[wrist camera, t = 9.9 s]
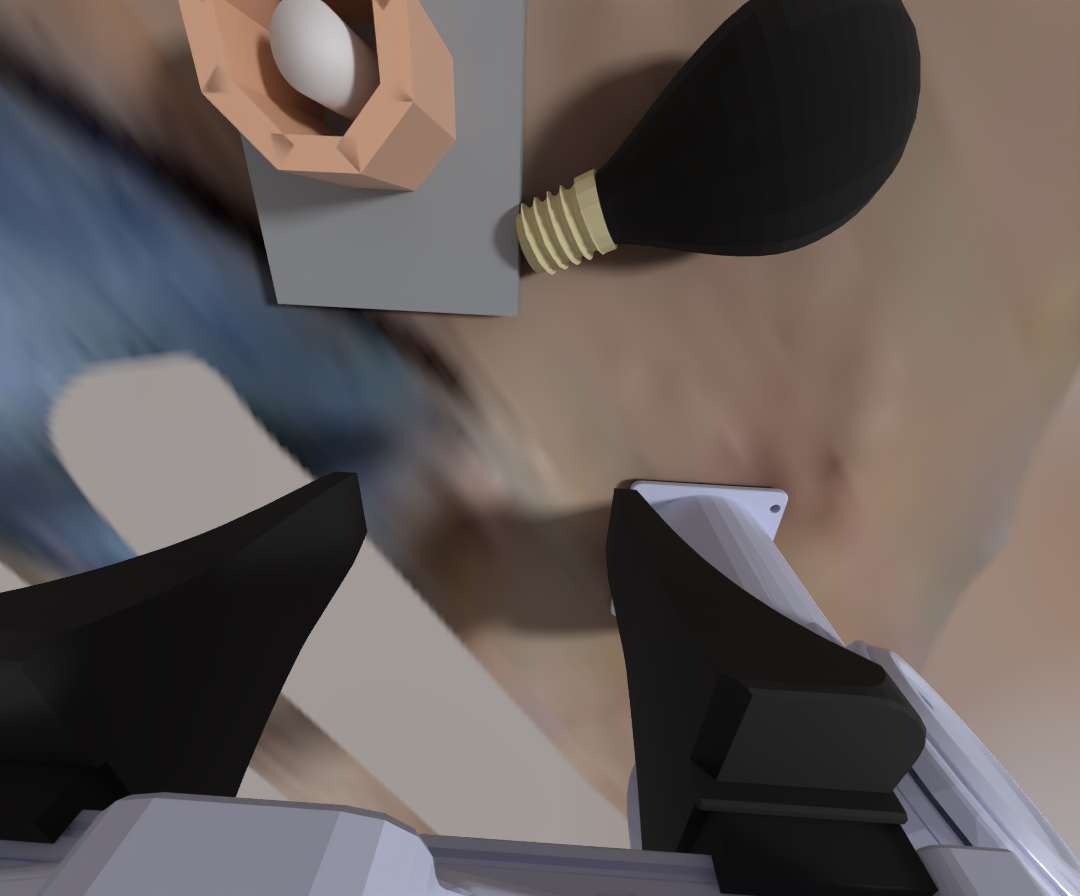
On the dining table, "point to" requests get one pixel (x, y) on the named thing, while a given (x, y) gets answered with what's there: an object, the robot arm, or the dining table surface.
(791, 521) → the dining table surface
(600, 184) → the light bulb
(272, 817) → the robot arm
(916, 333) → the dining table surface
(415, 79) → the collar
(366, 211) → the duct plate
